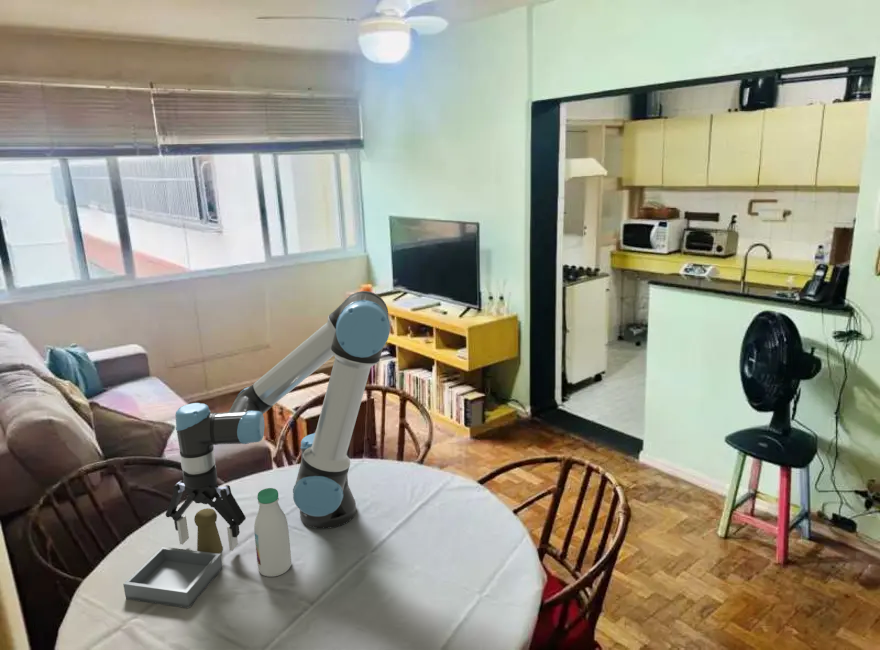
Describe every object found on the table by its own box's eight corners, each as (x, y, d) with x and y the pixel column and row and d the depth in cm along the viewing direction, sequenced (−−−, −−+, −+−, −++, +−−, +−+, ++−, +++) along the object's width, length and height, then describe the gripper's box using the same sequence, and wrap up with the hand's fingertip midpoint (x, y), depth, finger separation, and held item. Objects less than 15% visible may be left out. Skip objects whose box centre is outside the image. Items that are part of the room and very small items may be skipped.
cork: (201, 544, 155) (195, 505, 152) (225, 542, 155) (220, 504, 152) (193, 559, 149) (188, 519, 146) (219, 557, 149) (214, 517, 146)
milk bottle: (297, 560, 148) (291, 486, 142) (279, 580, 141) (272, 503, 135) (270, 554, 150) (263, 481, 145) (251, 574, 143) (243, 498, 138)
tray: (222, 568, 145) (220, 553, 144) (189, 608, 132) (186, 592, 131) (164, 560, 148) (162, 546, 147) (125, 599, 135) (123, 583, 134)
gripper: (254, 464, 147) (262, 540, 152) (162, 455, 152) (173, 530, 157) (238, 479, 140) (247, 559, 145) (142, 470, 145) (154, 547, 150)
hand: (209, 544), depth 151 cm, fingers open, 13 cm apart
